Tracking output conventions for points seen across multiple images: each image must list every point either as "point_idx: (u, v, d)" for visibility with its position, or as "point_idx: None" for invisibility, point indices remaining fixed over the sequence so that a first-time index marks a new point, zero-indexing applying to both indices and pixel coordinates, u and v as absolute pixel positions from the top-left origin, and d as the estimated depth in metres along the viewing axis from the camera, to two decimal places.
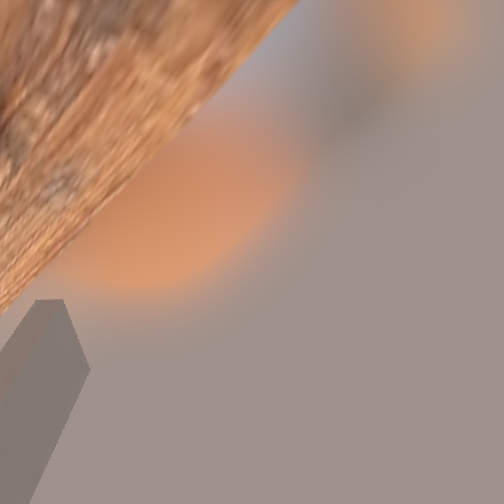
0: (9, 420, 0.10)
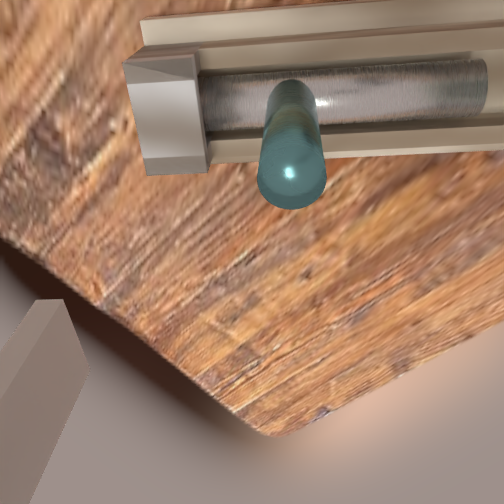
0: (8, 420, 0.10)
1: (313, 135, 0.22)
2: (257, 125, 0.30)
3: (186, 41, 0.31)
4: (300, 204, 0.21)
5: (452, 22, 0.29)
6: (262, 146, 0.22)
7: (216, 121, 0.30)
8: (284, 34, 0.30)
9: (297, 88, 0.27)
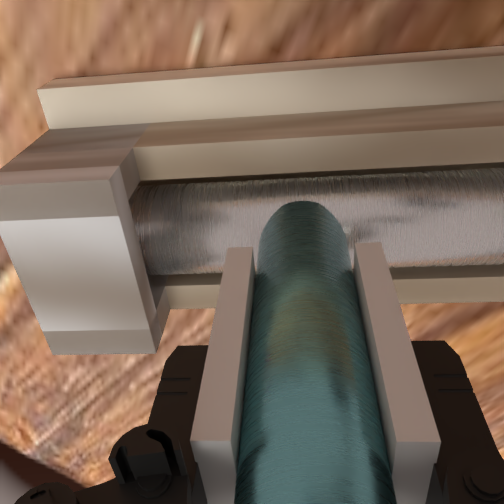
0: (246, 342, 0.12)
1: (368, 437, 0.09)
2: None
3: (120, 123, 0.18)
4: None
5: None
6: (242, 451, 0.09)
7: (170, 267, 0.17)
8: (289, 112, 0.17)
9: (316, 232, 0.14)
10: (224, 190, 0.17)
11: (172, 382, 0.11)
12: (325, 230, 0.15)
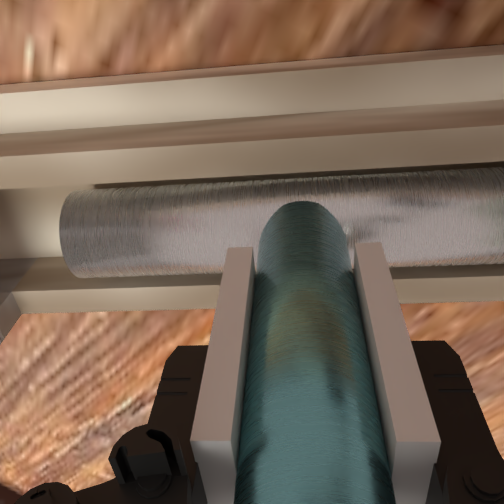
0: (246, 342, 0.12)
1: (367, 438, 0.09)
2: None
3: None
4: None
5: (396, 106, 0.17)
6: (242, 452, 0.09)
7: (170, 268, 0.17)
8: (116, 124, 0.18)
9: (315, 232, 0.14)
10: (224, 190, 0.17)
11: (172, 382, 0.11)
12: (325, 230, 0.15)
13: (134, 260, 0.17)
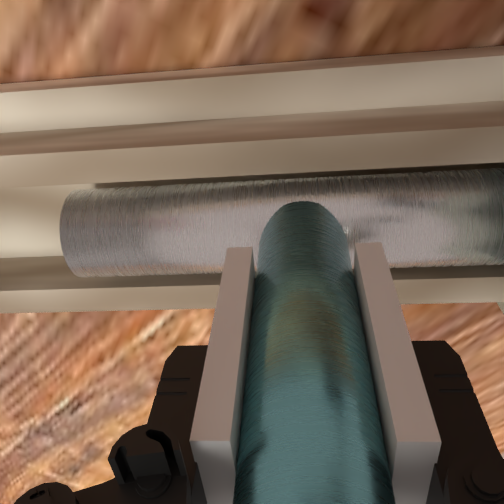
0: (245, 342, 0.12)
1: (367, 438, 0.09)
2: None
3: None
4: None
5: (283, 114, 0.17)
6: (241, 452, 0.09)
7: (170, 267, 0.17)
8: (16, 130, 0.18)
9: (316, 232, 0.14)
10: (224, 190, 0.17)
11: (171, 382, 0.11)
12: (325, 230, 0.15)
13: (134, 259, 0.17)
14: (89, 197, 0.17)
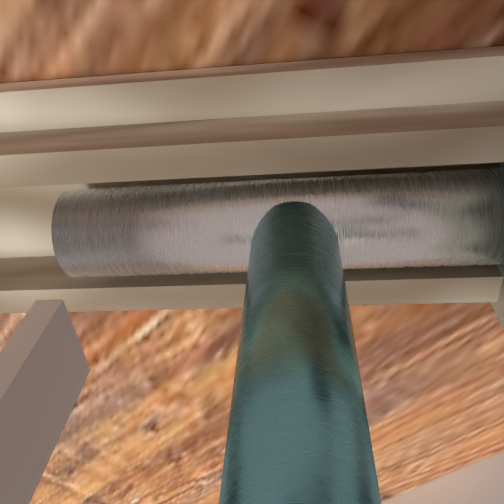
0: (8, 420, 0.10)
1: (353, 437, 0.09)
2: (235, 271, 0.17)
3: None
4: None
5: (276, 114, 0.17)
6: (228, 452, 0.09)
7: (162, 267, 0.17)
8: (9, 130, 0.18)
9: (306, 232, 0.14)
10: (216, 191, 0.17)
11: None
12: (316, 231, 0.15)
13: (126, 259, 0.17)
14: (81, 197, 0.17)
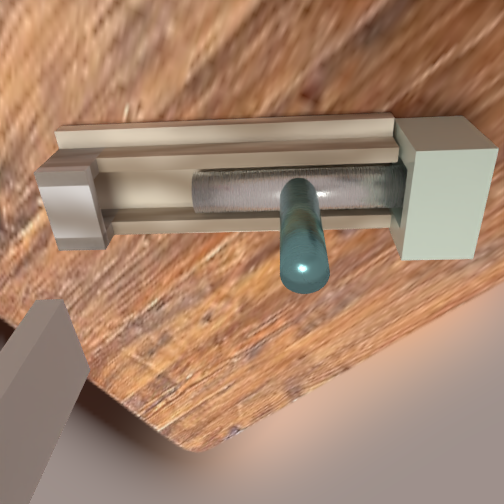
0: (9, 420, 0.10)
1: (319, 239, 0.30)
2: (271, 210, 0.39)
3: (91, 147, 0.40)
4: (310, 290, 0.30)
5: (290, 140, 0.39)
6: (282, 245, 0.30)
7: (239, 207, 0.38)
8: (166, 144, 0.40)
9: (304, 188, 0.36)
10: (264, 173, 0.38)
11: None
12: (308, 188, 0.36)
13: (224, 202, 0.38)
14: (203, 175, 0.38)
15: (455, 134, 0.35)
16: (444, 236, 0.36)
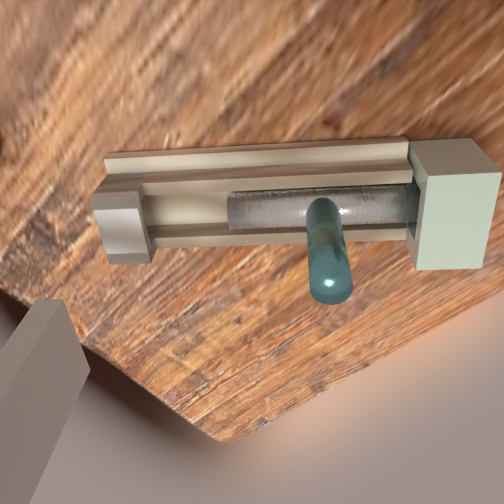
0: (9, 420, 0.10)
1: (343, 257, 0.35)
2: (298, 226, 0.43)
3: (136, 171, 0.45)
4: (335, 301, 0.34)
5: (314, 163, 0.43)
6: (311, 262, 0.35)
7: (269, 224, 0.43)
8: (202, 168, 0.44)
9: (328, 208, 0.40)
10: (291, 193, 0.43)
11: None
12: (331, 208, 0.40)
13: (256, 220, 0.43)
14: (236, 196, 0.43)
15: (463, 158, 0.39)
16: (455, 249, 0.40)
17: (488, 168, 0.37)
